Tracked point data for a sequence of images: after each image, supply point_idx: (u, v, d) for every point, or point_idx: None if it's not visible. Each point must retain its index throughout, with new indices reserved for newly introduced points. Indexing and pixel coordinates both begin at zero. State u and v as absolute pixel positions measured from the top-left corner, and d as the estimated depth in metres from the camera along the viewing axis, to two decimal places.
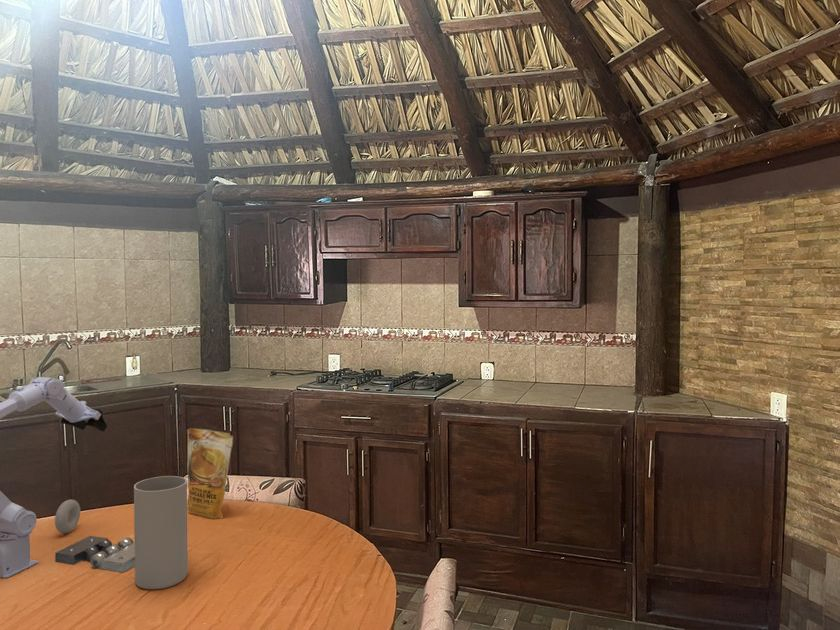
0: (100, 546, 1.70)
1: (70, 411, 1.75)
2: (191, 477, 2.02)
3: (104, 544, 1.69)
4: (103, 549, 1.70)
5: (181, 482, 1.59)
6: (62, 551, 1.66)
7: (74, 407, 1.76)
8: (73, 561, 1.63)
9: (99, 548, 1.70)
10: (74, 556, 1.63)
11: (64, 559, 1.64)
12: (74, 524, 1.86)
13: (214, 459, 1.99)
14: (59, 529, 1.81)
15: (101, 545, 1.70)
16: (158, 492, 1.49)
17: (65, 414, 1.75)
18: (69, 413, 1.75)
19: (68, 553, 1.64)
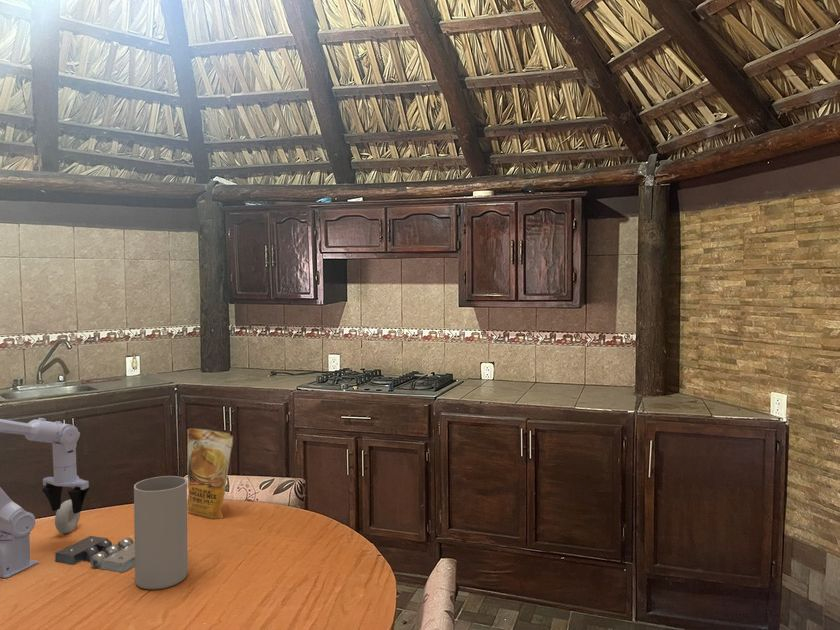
0: (100, 546, 1.70)
1: (65, 469, 1.71)
2: (191, 477, 2.02)
3: (104, 544, 1.69)
4: (103, 549, 1.70)
5: (181, 482, 1.59)
6: (62, 551, 1.66)
7: (71, 467, 1.72)
8: (73, 561, 1.63)
9: (99, 548, 1.70)
10: (74, 556, 1.63)
11: (64, 559, 1.64)
12: (74, 524, 1.86)
13: (214, 459, 1.99)
14: (59, 529, 1.81)
15: (101, 545, 1.70)
16: (158, 492, 1.49)
17: (58, 471, 1.71)
18: (63, 471, 1.71)
19: (68, 553, 1.64)
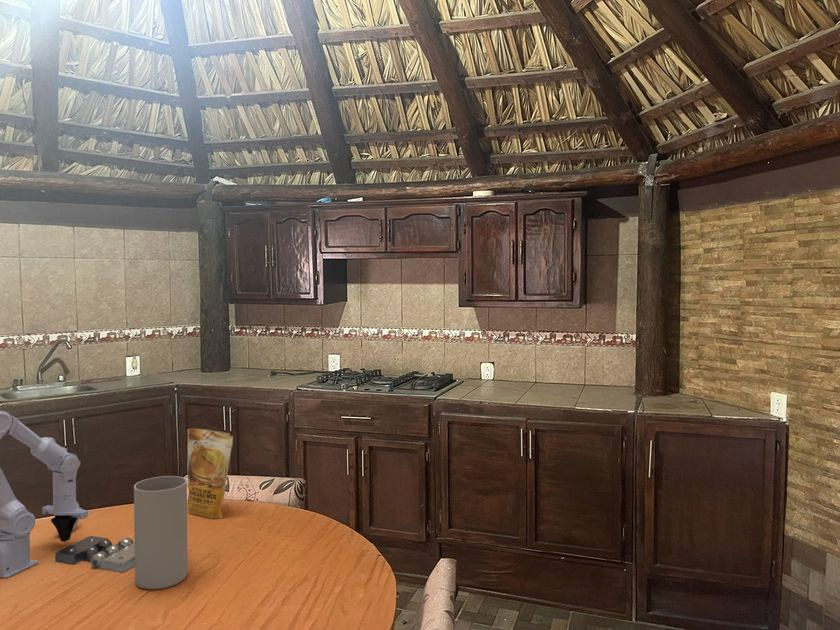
0: (100, 546, 1.70)
1: (65, 498, 1.71)
2: (191, 477, 2.02)
3: (104, 544, 1.69)
4: (103, 549, 1.70)
5: (181, 482, 1.59)
6: (62, 551, 1.66)
7: (70, 497, 1.72)
8: (73, 561, 1.63)
9: (99, 548, 1.70)
10: (74, 556, 1.63)
11: (64, 559, 1.64)
12: (74, 524, 1.86)
13: (214, 459, 1.99)
14: None
15: (101, 545, 1.70)
16: (158, 492, 1.49)
17: (58, 500, 1.71)
18: (62, 501, 1.71)
19: (68, 553, 1.64)
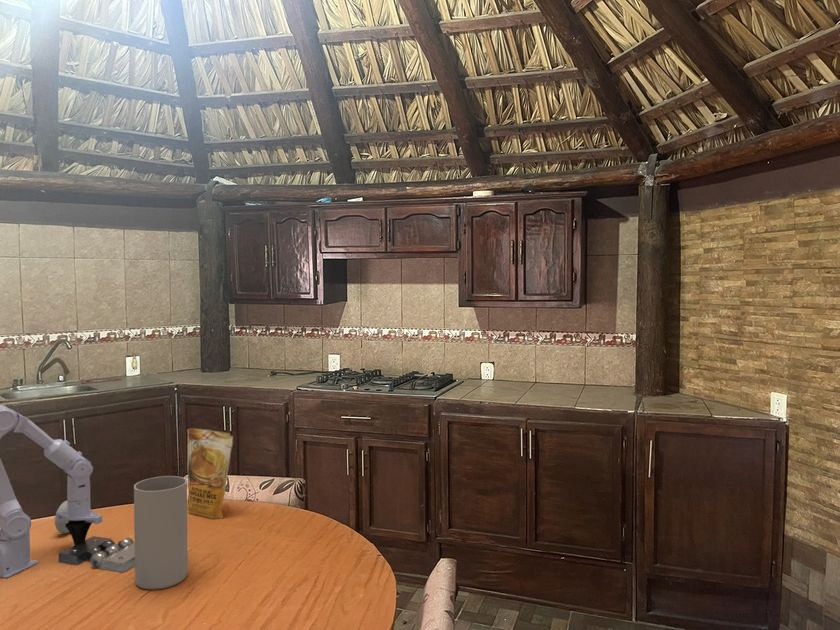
0: (104, 547, 1.69)
1: (79, 503, 1.70)
2: (191, 477, 2.02)
3: (107, 545, 1.69)
4: None
5: (181, 482, 1.59)
6: (65, 552, 1.65)
7: (85, 501, 1.71)
8: (76, 562, 1.63)
9: (102, 548, 1.70)
10: (77, 557, 1.63)
11: (68, 560, 1.64)
12: None
13: (214, 459, 1.99)
14: (59, 529, 1.81)
15: (104, 545, 1.69)
16: (158, 492, 1.49)
17: (72, 505, 1.69)
18: (77, 505, 1.69)
19: (71, 554, 1.64)
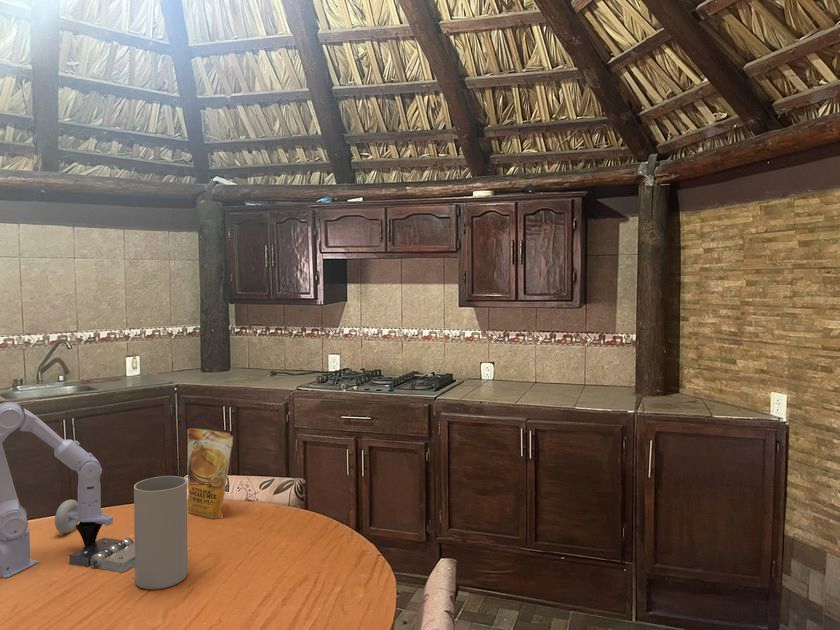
0: None
1: (90, 505, 1.69)
2: (191, 477, 2.02)
3: None
4: None
5: (181, 482, 1.59)
6: (76, 553, 1.64)
7: (95, 503, 1.70)
8: (87, 563, 1.62)
9: None
10: (88, 558, 1.62)
11: (79, 562, 1.63)
12: (74, 524, 1.86)
13: (214, 459, 1.99)
14: (59, 529, 1.81)
15: None
16: (158, 492, 1.49)
17: (83, 506, 1.68)
18: (87, 507, 1.68)
19: (82, 555, 1.63)
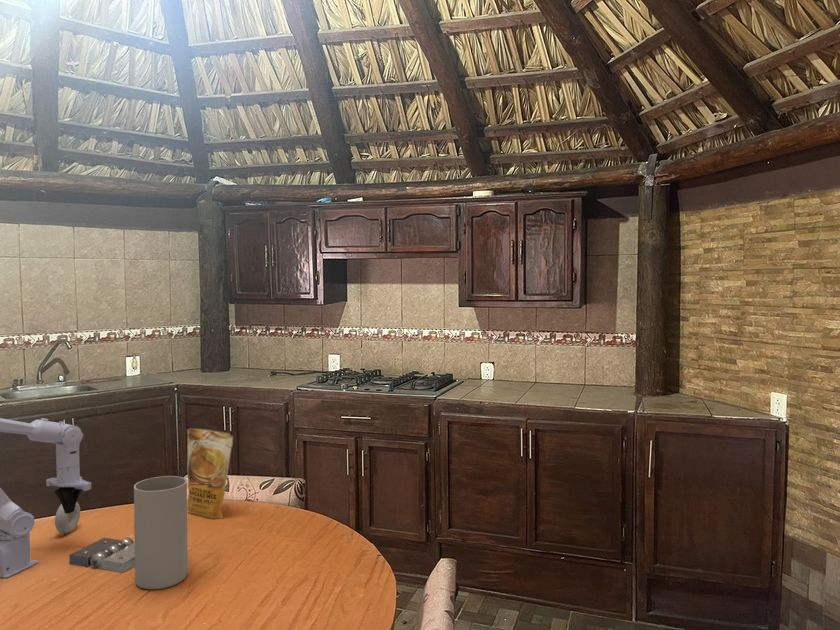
0: None
1: (68, 470, 1.71)
2: (191, 477, 2.02)
3: None
4: None
5: (181, 482, 1.59)
6: (76, 553, 1.64)
7: (74, 468, 1.72)
8: (87, 563, 1.62)
9: None
10: (88, 558, 1.62)
11: (79, 562, 1.63)
12: (74, 524, 1.86)
13: (214, 459, 1.99)
14: (59, 529, 1.81)
15: None
16: (158, 492, 1.49)
17: (61, 472, 1.70)
18: (65, 472, 1.70)
19: (82, 555, 1.63)
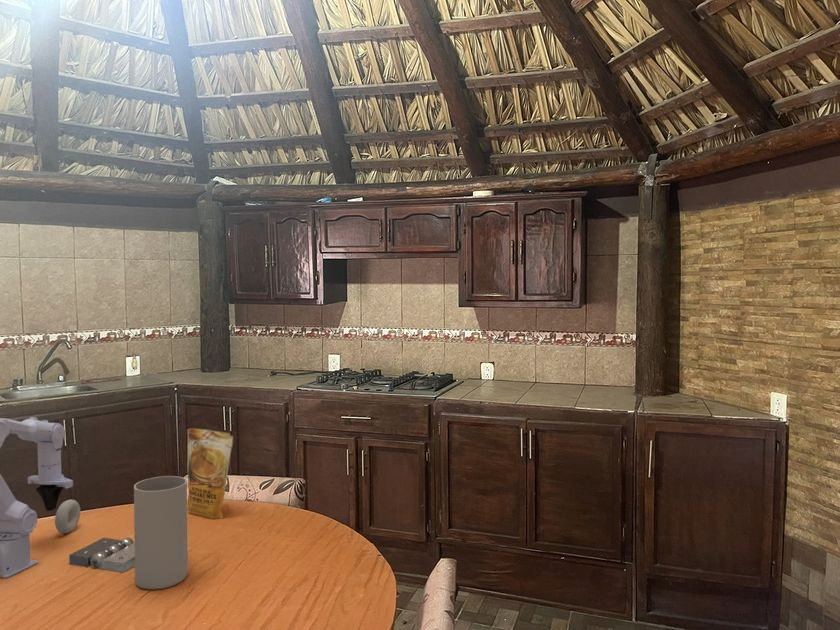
0: None
1: (50, 468, 1.72)
2: (191, 477, 2.02)
3: None
4: None
5: (181, 482, 1.59)
6: (76, 553, 1.64)
7: (55, 466, 1.74)
8: (87, 563, 1.62)
9: None
10: (88, 558, 1.62)
11: (79, 562, 1.63)
12: (74, 524, 1.86)
13: (214, 459, 1.99)
14: (59, 529, 1.81)
15: None
16: (158, 492, 1.49)
17: (43, 469, 1.72)
18: (47, 470, 1.72)
19: (82, 555, 1.63)
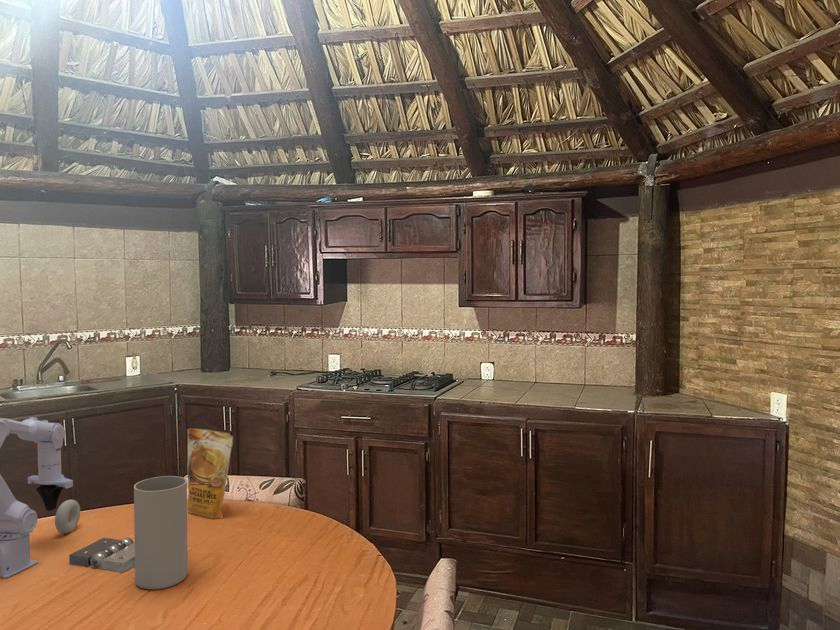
0: None
1: (50, 468, 1.72)
2: (191, 477, 2.02)
3: None
4: None
5: (181, 482, 1.59)
6: (76, 553, 1.64)
7: (55, 466, 1.74)
8: (87, 563, 1.62)
9: None
10: (88, 558, 1.62)
11: (79, 562, 1.63)
12: (74, 524, 1.86)
13: (214, 459, 1.99)
14: (59, 529, 1.81)
15: None
16: (158, 492, 1.49)
17: (43, 469, 1.72)
18: (47, 470, 1.72)
19: (82, 555, 1.63)
